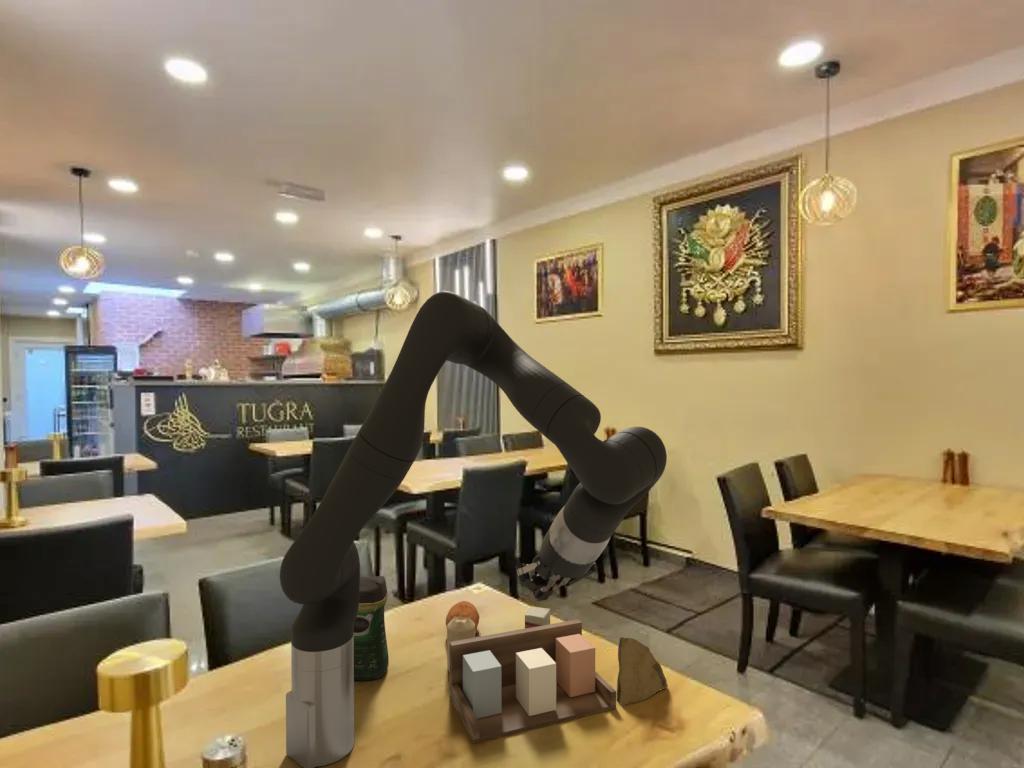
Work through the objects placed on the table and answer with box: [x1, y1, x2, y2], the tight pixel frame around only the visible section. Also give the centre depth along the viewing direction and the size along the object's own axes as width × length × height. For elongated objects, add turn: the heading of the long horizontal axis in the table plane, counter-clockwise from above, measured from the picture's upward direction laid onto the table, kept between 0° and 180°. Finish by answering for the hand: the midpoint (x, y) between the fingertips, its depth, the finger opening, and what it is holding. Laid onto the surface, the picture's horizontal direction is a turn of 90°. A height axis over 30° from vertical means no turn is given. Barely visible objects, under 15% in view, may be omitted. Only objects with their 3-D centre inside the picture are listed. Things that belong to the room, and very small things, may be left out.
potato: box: [445, 600, 480, 634], centre depth 129 cm, size 7×13×7 cm, turn 176°
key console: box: [449, 618, 617, 744], centre depth 102 cm, size 14×26×10 cm, turn 112°
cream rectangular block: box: [516, 648, 556, 716], centre depth 101 cm, size 6×5×8 cm
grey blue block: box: [463, 650, 502, 718], centre depth 100 cm, size 6×5×8 cm
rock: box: [616, 637, 669, 707], centre depth 105 cm, size 11×9×10 cm
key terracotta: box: [556, 634, 596, 697], centre depth 106 cm, size 6×5×8 cm
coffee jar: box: [354, 575, 389, 681], centre depth 113 cm, size 10×8×19 cm
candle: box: [446, 616, 476, 673], centre depth 114 cm, size 6×6×10 cm
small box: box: [524, 605, 551, 629], centre depth 122 cm, size 5×4×8 cm
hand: (539, 594), depth 90 cm, fingers closed
